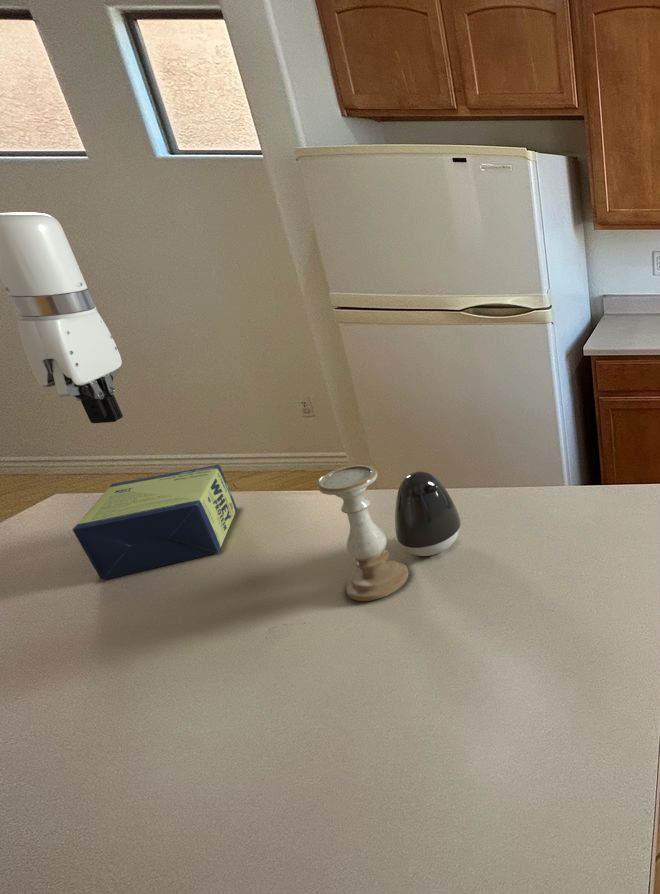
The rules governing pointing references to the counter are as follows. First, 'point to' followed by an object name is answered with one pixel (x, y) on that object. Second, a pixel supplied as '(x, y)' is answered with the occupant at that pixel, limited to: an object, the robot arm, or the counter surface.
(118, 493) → the protein box
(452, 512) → the dark grey egg shape
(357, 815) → the counter surface
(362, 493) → the candle holder
